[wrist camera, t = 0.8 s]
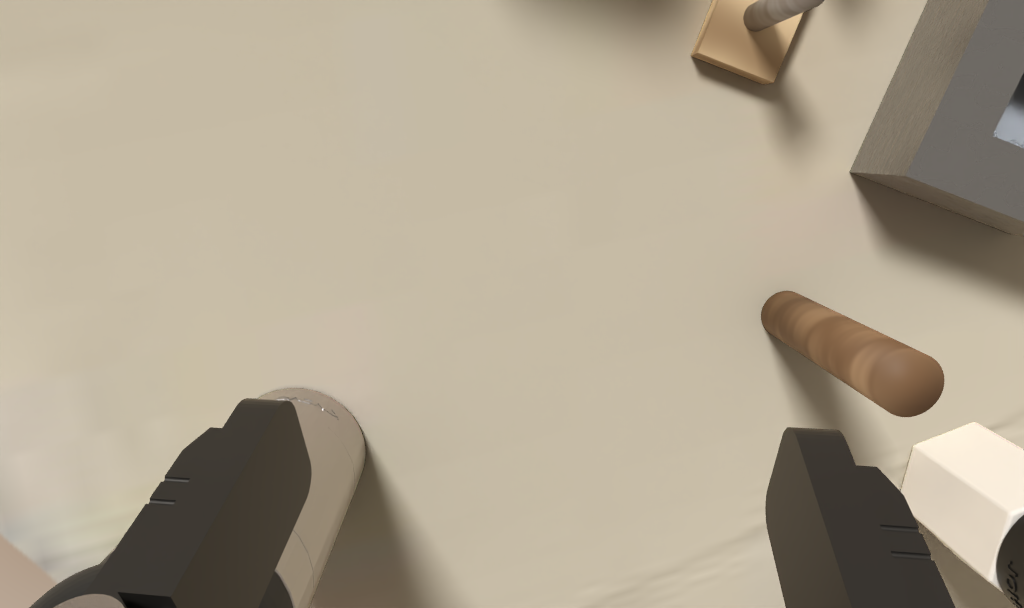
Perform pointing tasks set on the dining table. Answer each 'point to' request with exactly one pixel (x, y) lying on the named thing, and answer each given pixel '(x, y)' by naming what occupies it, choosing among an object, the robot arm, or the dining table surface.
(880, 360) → the walnut pin
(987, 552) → the jar
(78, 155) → the dining table surface
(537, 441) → the dining table surface
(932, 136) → the block
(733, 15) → the peg rack
